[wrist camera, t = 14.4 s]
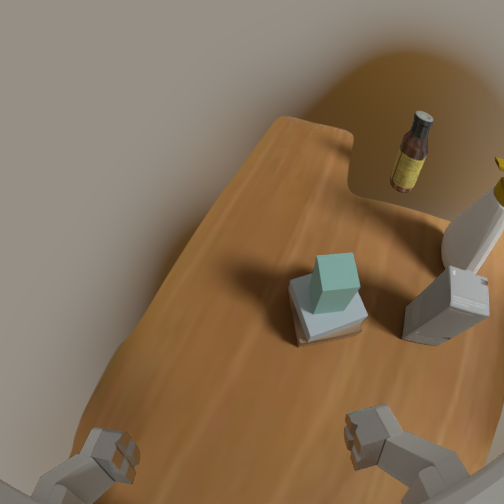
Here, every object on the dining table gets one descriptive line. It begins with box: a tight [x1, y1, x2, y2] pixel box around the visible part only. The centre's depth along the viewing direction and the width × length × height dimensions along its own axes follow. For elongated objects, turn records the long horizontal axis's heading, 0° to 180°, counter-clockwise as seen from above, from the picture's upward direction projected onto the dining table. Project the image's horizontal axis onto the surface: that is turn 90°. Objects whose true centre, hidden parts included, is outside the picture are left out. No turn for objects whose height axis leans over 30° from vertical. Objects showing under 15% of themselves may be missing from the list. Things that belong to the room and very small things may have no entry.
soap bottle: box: [441, 157, 504, 274], centre depth 36 cm, size 13×10×29 cm
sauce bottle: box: [390, 111, 433, 193], centre depth 50 cm, size 7×6×20 cm
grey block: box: [289, 273, 368, 342], centre depth 41 cm, size 9×9×4 cm
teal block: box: [309, 253, 360, 315], centre depth 36 cm, size 4×4×9 cm
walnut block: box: [288, 283, 362, 347], centre depth 45 cm, size 10×10×4 cm
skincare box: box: [402, 266, 489, 346], centre depth 36 cm, size 8×7×16 cm
